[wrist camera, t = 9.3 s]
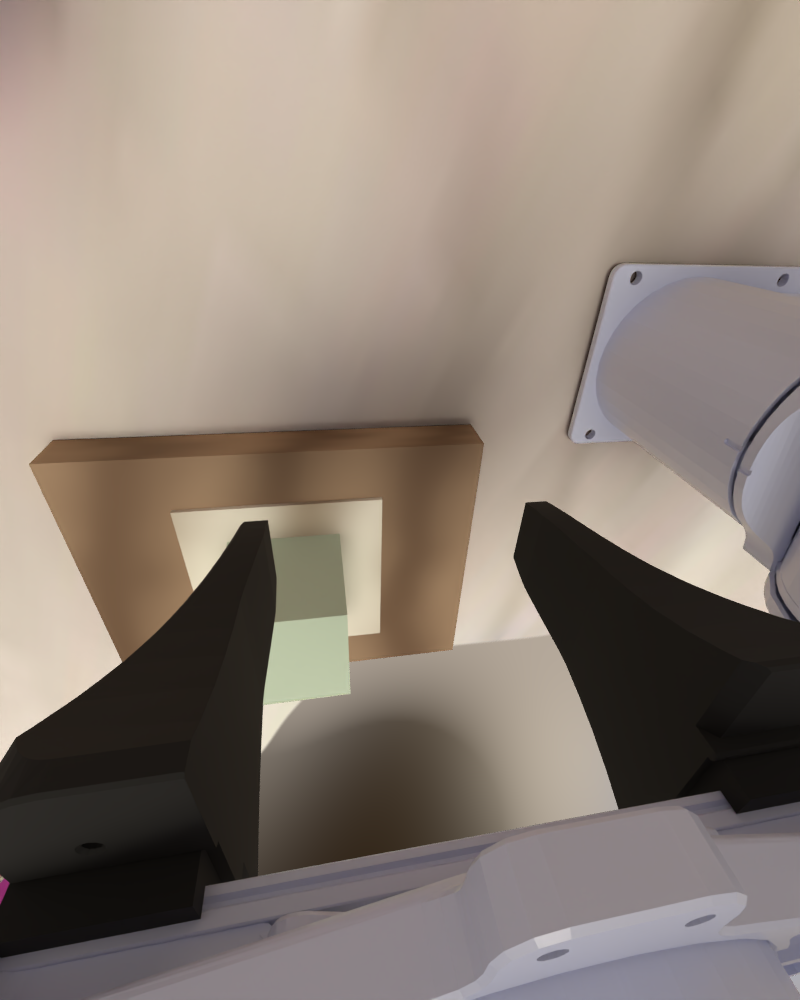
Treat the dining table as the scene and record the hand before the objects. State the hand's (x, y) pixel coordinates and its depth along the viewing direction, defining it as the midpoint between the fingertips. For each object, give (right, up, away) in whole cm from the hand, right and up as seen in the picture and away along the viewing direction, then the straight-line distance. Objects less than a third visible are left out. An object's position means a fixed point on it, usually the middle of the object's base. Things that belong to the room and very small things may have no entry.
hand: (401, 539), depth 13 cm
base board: (-6, -2, +11) cm, 13 cm away
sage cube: (-5, -3, +10) cm, 11 cm away
